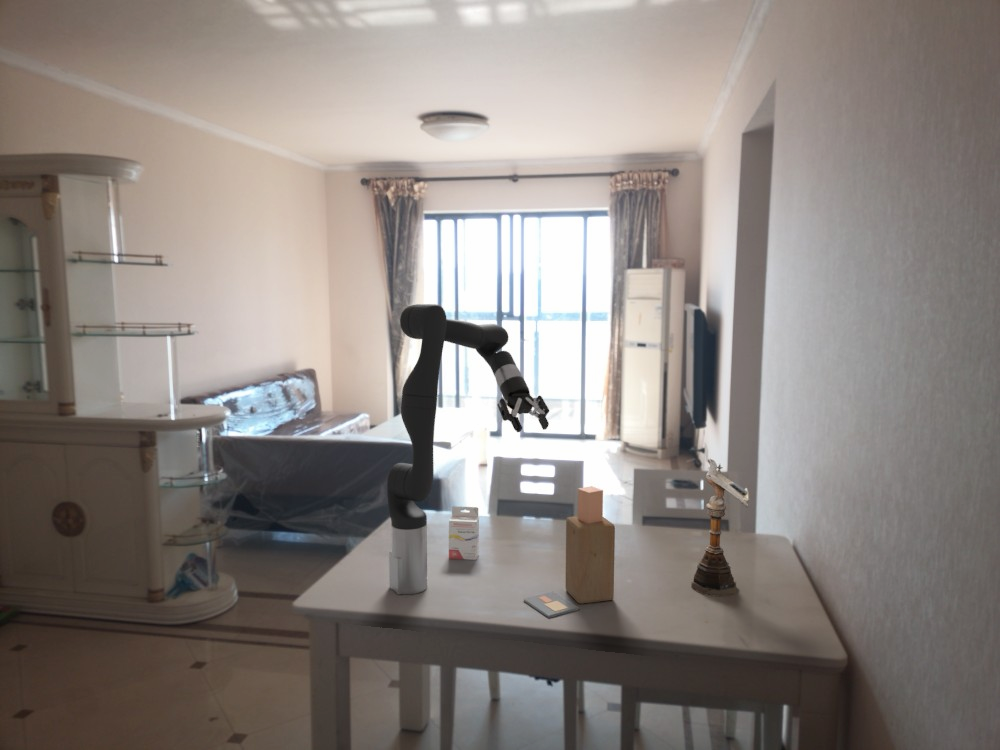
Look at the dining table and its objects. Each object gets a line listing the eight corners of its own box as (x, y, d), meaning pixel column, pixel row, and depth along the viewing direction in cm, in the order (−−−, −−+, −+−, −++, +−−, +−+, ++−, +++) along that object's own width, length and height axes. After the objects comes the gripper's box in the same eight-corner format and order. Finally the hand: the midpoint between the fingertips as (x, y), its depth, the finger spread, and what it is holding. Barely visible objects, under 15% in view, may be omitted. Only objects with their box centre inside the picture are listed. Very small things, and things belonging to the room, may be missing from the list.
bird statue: (756, 582, 189) (761, 455, 185) (756, 601, 177) (761, 466, 173) (693, 574, 195) (697, 450, 191) (688, 592, 182) (692, 460, 179)
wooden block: (578, 605, 174) (579, 527, 172) (564, 589, 184) (564, 515, 182) (615, 601, 177) (616, 524, 175) (599, 585, 187) (600, 512, 184)
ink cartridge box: (448, 559, 206) (448, 510, 204) (451, 553, 211) (450, 505, 209) (477, 560, 205) (477, 511, 204) (479, 554, 210) (479, 506, 208)
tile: (548, 617, 167) (548, 615, 167) (523, 601, 177) (523, 598, 177) (578, 609, 172) (578, 606, 172) (553, 593, 181) (553, 591, 181)
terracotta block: (588, 523, 175) (588, 492, 175) (577, 519, 179) (577, 488, 178) (602, 521, 178) (603, 490, 177) (591, 516, 181) (591, 486, 181)
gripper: (494, 376, 194) (516, 423, 186) (537, 374, 202) (560, 418, 193) (485, 393, 200) (506, 439, 191) (527, 390, 207) (549, 434, 198)
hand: (533, 429), depth 192 cm, fingers open, 8 cm apart
